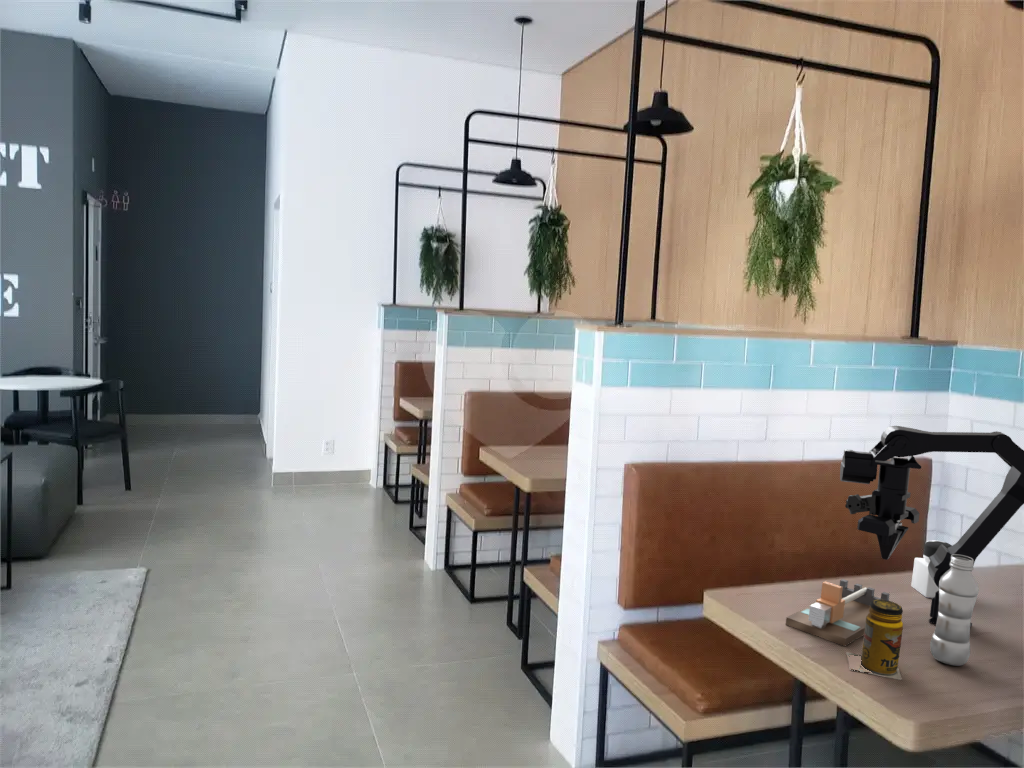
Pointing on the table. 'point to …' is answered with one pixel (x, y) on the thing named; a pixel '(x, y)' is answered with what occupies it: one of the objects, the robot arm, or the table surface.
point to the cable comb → (864, 598)
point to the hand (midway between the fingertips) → (885, 559)
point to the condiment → (882, 639)
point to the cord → (855, 595)
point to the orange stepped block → (832, 600)
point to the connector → (819, 615)
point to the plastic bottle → (955, 612)
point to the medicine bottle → (926, 570)
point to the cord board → (835, 623)
